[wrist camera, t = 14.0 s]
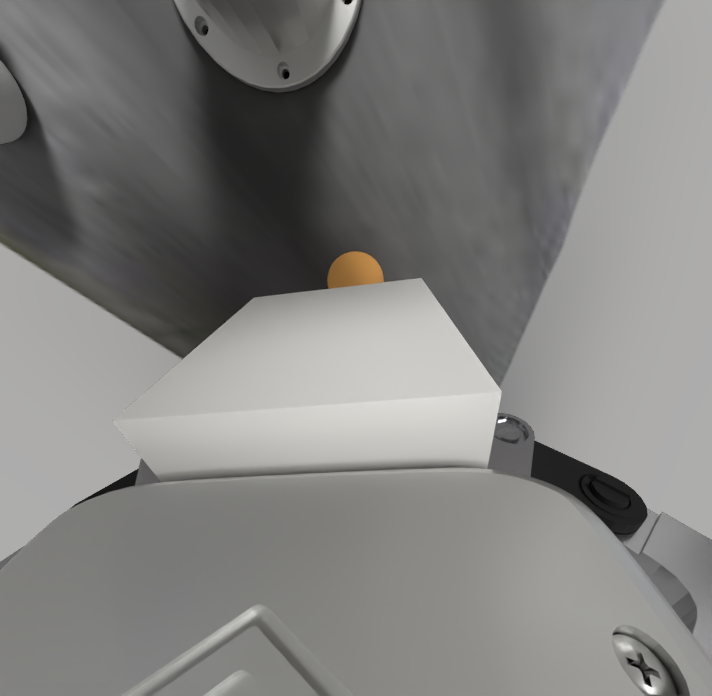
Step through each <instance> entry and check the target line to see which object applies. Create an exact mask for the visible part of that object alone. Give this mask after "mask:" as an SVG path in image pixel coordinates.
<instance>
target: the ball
mask: <svg viewBox="0 0 712 696" xmlns="http://www.w3.org/2000/svg"><path fill="white" fill-rule="evenodd" d="M383 282H384V279H383V272H382V270H381V267H380V265H379V264H378V263H377V261H376V260H375V259H374V258H373V257H371V256H370V255H368V254H366V253H363V252H358V251H353V252H348V253H345V254H343V255H341V256H340V257H338V258H337V259H336V260H335V261H334V262H333V264H332V265H331V267H330V269H329V272H328V278H327V283H328V288H329V289H332V288H340V287H349V286H357V285H366V284H375V283H383Z"/></svg>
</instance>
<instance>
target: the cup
mask: <svg viewBox="0 0 712 696" xmlns="http://www.w3.org/2000/svg"><path fill="white" fill-rule="evenodd" d="M26 125H27V109H26V105H25V101H24V98H23V95H22V93H21V91H20V89H19V87H18V85H17V83H16V81H15V79H14V78H13V76H12V74H11V73H10V72H9V70H8V69H7V68H6V66H5V65H4V64H3V62H2V61H1V60H0V144H3V143H9V142H12V141H14V140H16V139H18V138H19V137H20V136H21V135H22V134H23V133H24V131H25V128H26Z"/></svg>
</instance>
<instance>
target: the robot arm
mask: <svg viewBox="0 0 712 696" xmlns="http://www.w3.org/2000/svg"><path fill="white" fill-rule="evenodd" d="M173 1H174V3H175V5H176V7H177V9H178V11H179V12H180V14H181V16H182V18H183V20H184V22H185V24H186V25H187V26H188V28H189V29H190V31H191V32H192V34H193V35H194V37H195V38H196V40H197V41H198V43H199V44H200V45H201V46H202V47H203V48H204V49H205V51H206V52H207V53H208V54H209V55H210V56H211V57H212V58H213V59H214V61H215V62H217V63H218V64H219V65H220V66H221V67H222V68H223V69H224V70H226V71H227V72H228V73H229V74H231V75H232V76H234V77H235V78H237V79H238V80H240V81H241V82H243V83H244V84H246V85H249V86H251V87H254V88H257V89H259V90H262V91H269V92H277V93H279V92H288V91H295V90H297V89H299V88H302V87H304V86H307V85H309V84H311V83H312V82H314V81H315V80H316V79H318V78H319V77H320V76H322V75H323V74H324V73H325V72H326V71H327V70H328V69H329V68H330V67H331V65H332V64H333V63H334V62H335V61H336V60H337V58H338V57H339V55H340V53H341V52H342V50H343V48H344V47H345V45H346V43H347V42H348V40H349V38H350V35H351V32H352V30H353V27H354V25H355V22H356V20H357V17H358V14H359V10H360V5H361V1H362V0H351V1H352V3H350V4H349V5H346V4H344V2H345V0H173ZM207 29H208V33H207V35H206V30H207ZM285 72H289V73H290V76H289V78H288V79H284V74H285ZM534 439H535V437H534V431H533V430H532V428H531V427H530V426H529V425H528V424H527V423H526V422H525V421H523V420H522V419H520V418H518V417H516V416H513V415H510V414H505V413H498V415H497V420H496V425H495V430H494V436H493V441H492V446H491V452H490V457H489V462H488V467H487V469H481V468H431V469H399V470H376V471H353V472H331V473H310V474H290V475H270V476H251V477H233V478H215V479H198V480H184V481H171V482H161V481H160V480H159V479H158V478H157V476H156V475H155V474H154V473H153V471H152V470H151V469H150V468H149V466H148V465H147V464H146V463H145V461H144V460H143V459H142V458H141V461H140V465H139V469H137V470H135V471H133V472H132V473H130V474H128V475H126V476H125V477H123V478H121V479H119V480H118V481H116V482H114V483H112V484H110V485H109V486H107V487H105V488H103V489H102V490H100V491H98V492H96V493H94V494H93V495H91V496H89V497H88V498H86V499H84V500H82V501H80V502H79V503H77V504H75V505H74V506H73V507H72V508H70V509H69V510H67V511H66V512H64V513H63V514H61V515H60V516H58V517H57V518H56V519H55V520H53V521H52V522H51V523H50V524H49V525H47V526H46V527H45V528H44V529H43V530H42V531H41V532H40V533H38V534H37V535H36V536H35V537H34V538H33V539H32V540H31V541H30V542H29V543H27V544H26V545H25V546H24V547H22V548H21V549H19V550H18V551H16V552H14V553H13V554H11V555H10V556H8V557H7V558H6V559H4V560H2V561H1V562H0V696H712V540H711V539H709V538H707V537H706V536H704V535H702V534H700V533H699V532H697V531H695V530H693V529H691V528H690V527H688V526H686V525H685V524H683V523H681V522H679V521H678V520H676V519H674V518H672V517H671V516H669V515H667V514H665V513H663V512H662V513H661V514H660V515H658V514H656V513H654V512H653V511H651V510H649V509H647V507H646V505H645V503H644V502H643V500H642V498H641V497H640V496H639V495H638V494H637V493H636V492H635V491H634V490H633V489H632V488H630V487H629V486H628V485H626V484H625V483H624V482H622V481H620V480H618V479H617V478H615V477H613V476H611V475H608V474H606V473H604V472H602V471H600V470H598V469H595V468H593V467H591V466H589V465H587V464H585V463H582V462H580V461H578V460H576V459H574V458H572V457H569V456H567V455H565V454H563V453H561V452H558V451H556V450H554V449H552V448H550V447H548V446H545V445H543V444H541V443H539V442H536V441H534ZM612 635H614V636H612Z"/></svg>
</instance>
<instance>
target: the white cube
mask: <svg viewBox="0 0 712 696" xmlns="http://www.w3.org/2000/svg"><path fill="white" fill-rule="evenodd" d="M501 393H502V392H501V390H500V389H499V387H498V386H497V384H496V383H495V382H494V380H493V379H492V377H491V376H490V375H489V373H488V372H487V370H486V369H485V367H484V366H483V365H482V363H481V362H480V360H479V359H478V358H477V356H476V355H475V353H474V352H473V350H472V349H471V348H470V346H469V345H468V343H467V342H466V341H465V339H464V338H463V336H462V335H461V334H460V332H459V331H458V329H457V328H456V326H455V325H454V324H453V322H452V321H451V319H450V318H449V317H448V315H447V314H446V312H445V311H444V309H443V308H442V307H441V305H440V304H439V302H438V301H437V300H436V298H435V297H434V295H433V294H432V293H431V291H430V290H429V288H428V287H427V285H426V284H425V283H424V281H423V280H422V278H418V279H409V280H401V281H392V282H383V283H375V284H366V285H357V286H349V287H340V288H332V289H323V290H314V291H306V292H297V293H288V294H280V295H271V296H263V297H254V298H253V299H252V300H251V301H249V302H248V303H247V304H246V305H245V306H244V307H243V308H241V309H240V310H239V311H238V312H237V313H236V314H234V315H233V316H232V317H231V318H230V319H229V320H228V321H226V322H225V323H224V324H223V325H222V326H221V327H219V328H218V329H217V330H216V331H215V332H214V333H212V334H211V335H210V336H209V337H208V338H207V339H206V340H204V341H203V342H202V343H201V344H200V345H199V346H197V347H196V348H195V349H194V350H193V351H192V352H191V353H189V354H188V355H187V356H186V357H185V358H184V359H182V360H181V361H180V362H179V363H178V364H177V365H176V366H174V367H173V368H172V369H171V370H170V371H169V372H168V373H166V374H165V375H164V376H163V377H162V378H160V379H159V380H158V381H157V382H156V383H155V384H154V385H152V386H151V387H150V388H149V389H148V390H147V391H145V392H144V393H143V394H142V395H141V396H140V397H139V398H137V399H136V400H135V401H134V402H133V403H132V404H130V405H129V406H128V407H127V408H126V409H125V410H124V411H123V412H121V413H120V414H119V415H118V416H117V417H116V418H114V419H113V420H112V422H113V423H114V424H115V425H116V427H117V428H118V429H119V430H120V431H121V433H122V434H123V435H124V436H125V438H126V439H127V440H128V442H129V443H130V444H131V445H132V446H133V448H134V449H135V450H136V451H137V453H138V454H139V455H140V456H141V458H142V459H143V460H144V461H145V463H146V464H147V465H148V466H149V468H150V469H151V470H152V471H153V473H154V474H155V475H156V476H157V478H158V479H159V480H160V481H161V482H171V481H184V480H198V479H215V478H233V477H251V476H270V475H290V474H310V473H331V472H353V471H376V470H399V469H431V468H481V469H487V467H488V462H489V457H490V452H491V446H492V441H493V436H494V430H495V425H496V420H497V415H498V409H499V404H500V399H501Z"/></svg>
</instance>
